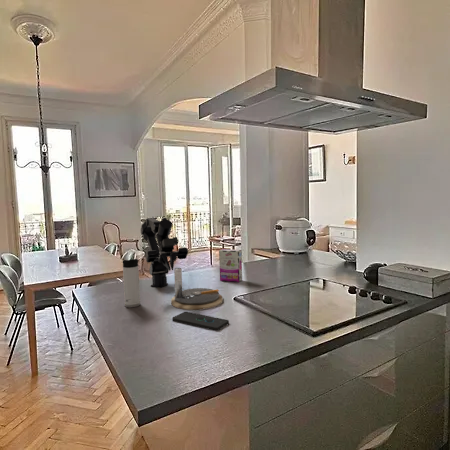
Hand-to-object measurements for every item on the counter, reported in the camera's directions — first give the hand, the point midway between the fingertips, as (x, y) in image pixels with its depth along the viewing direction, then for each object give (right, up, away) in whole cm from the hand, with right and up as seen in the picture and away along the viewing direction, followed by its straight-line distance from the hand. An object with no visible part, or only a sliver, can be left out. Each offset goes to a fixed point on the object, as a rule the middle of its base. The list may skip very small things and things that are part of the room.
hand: (171, 270), depth 155 cm
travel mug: (-15, -14, -8) cm, 22 cm away
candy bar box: (+27, -9, +29) cm, 41 cm away
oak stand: (+12, -13, -5) cm, 18 cm away
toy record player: (+12, -11, -5) cm, 17 cm away
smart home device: (+15, -16, -29) cm, 36 cm away
